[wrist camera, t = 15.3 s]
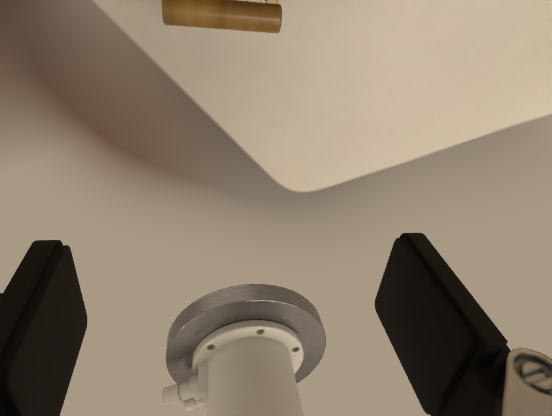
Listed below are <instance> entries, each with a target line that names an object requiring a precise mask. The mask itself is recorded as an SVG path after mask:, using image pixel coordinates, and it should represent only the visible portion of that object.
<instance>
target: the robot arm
mask: <svg viewBox="0 0 552 416" xmlns="http://www.w3.org/2000/svg"><path fill="white" fill-rule="evenodd" d="M375 309H376V312H377V314H378V316H379V319H380V321H381V323H382V325H383V327H384V329H385V331H386V333H387V335H388V337H389V339H390V341H391V343H392V345H393V347H394V350H395V352H396V354H397V356H398V358H399V360H400V362H401V364H402V366H403V368H404V370H405V373H406V374H407V376H408V379H409V381H410V383H411V385H412V387H413V389H414V391H415V393H416V395H417V398H418V399H419V402H420V404H421V406H422V408H423V410H424V411H425V412H426V413H427V414H430V415H431V416H552V359H550V358H549V357H548V356H546V355H544V354H542V353H540V352H537V351H534V350H532V349H527V348H517V349H513V350H512V351H511V350H510V349H509V348H508V346H507V345H506V343H507V340H506V339H505V337H504V336H503V335H502V334H501V332H500V331H499V330H498V328H497V327H496V326H495V325H494V323H493V322H492V321H491V319H490V318H489V317H488V316H487V315H486V313H485V312H484V310H483V309H482V308H481V307H480V305H479V304H478V303H477V302H476V300H475V299H474V298H473V296H472V295H471V294H470V293H469V291H468V290H467V289H466V288H465V286H464V285H463V284H462V282H461V281H460V280H459V279H458V277H457V276H456V275H455V273H454V272H453V271H452V270H451V268H450V267H449V266H448V264H447V263H446V262H445V261H444V259H443V258H442V257H441V256H440V254H439V253H438V252H437V250H436V249H435V248H434V247H433V245H432V244H431V243H430V241H429V240H428V239H427V237H426V236H425V235H424V234H423V233H404V234H402V235H401V236H400V238H397V239H396V240H395V242H394V244H393V248H392V251H391V253H390V257H389V260H388V263H387V266H386V269H385V272H384V275H383V278H382V281H381V284H380V287H379V290H378V293H377V296H376V299H375ZM86 328H87V314H86V310H85V306H84V302H83V298H82V293H81V290H80V285H79V282H78V277H77V273H76V270H75V266H74V261H73V257H72V253H71V250H70V247H69V246H68V245H65V246H63V244H62V242H61V241H60V240H38V241H34V242H33V243H32V245H31V246H30V248H29V250H28V251H27V253H26V255H25V257H24V259H23V260H22V262H21V263H20V265H19V267H18V269H17V270H16V272H15V274H14V276H13V277H12V279H11V281H10V282H9V284H8V286H7V287H6V289H5V291H4V293H0V416H60V413H61V409H62V406H63V403H64V400H65V396H66V393H67V390H68V386H69V383H70V380H71V377H72V373H73V370H74V367H75V364H76V360H77V357H78V354H79V351H80V347H81V344H82V341H83V338H84V335H85V331H86ZM303 356H304V353H303V347H302V344H301V340H300V338H299V337H298V335H297V334H296V333H295V332H294V331H293V330H292V329H290V328H288V327H287V326H285V325H283V324H279V323H276V322H272V321H266V320H248V321H241V322H237V323H233V324H229V325H227V326H224V327H222V328H219V329H218V330H216V331H214V332H212V333H211V334H209V335H208V336H207V337H206V338H204V339H203V340H202V341H201V343H200V344H199V345H198V346H197V348H196V350H195V352H194V355H193V373H194V376H191V378H190V381H187V382H184V383H179V384H176V385H173V386H169V387H166V388H164V389H163V400H164V403H165V405H166V406H171V405H174V404H177V403H181V402H183V401H184V408H185V410H186V411H190V410H193V409H196V408H198V407H200V406H204V405H205V406H206V407H207V416H303V412H302V407H301V403H300V398H299V393H298V389H297V384H296V379H295V375H294V374H295V373H296V371H297V370H298V369H299V368H300V366H301V363H302V361H303Z"/></svg>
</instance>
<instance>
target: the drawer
mask: <svg viewBox="0 0 552 416" xmlns="http://www.w3.org/2000/svg"><path fill="white" fill-rule="evenodd" d="M265 2H266V3H260V2H249V1H238V0H162V14H163V22H164V24H165V25H175V26H188V27H201V28H214V29H227V30H241V31H254V32H267V33H279V31H280V28H281V21H282V8H281V5H280V4H278V0H265Z"/></svg>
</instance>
